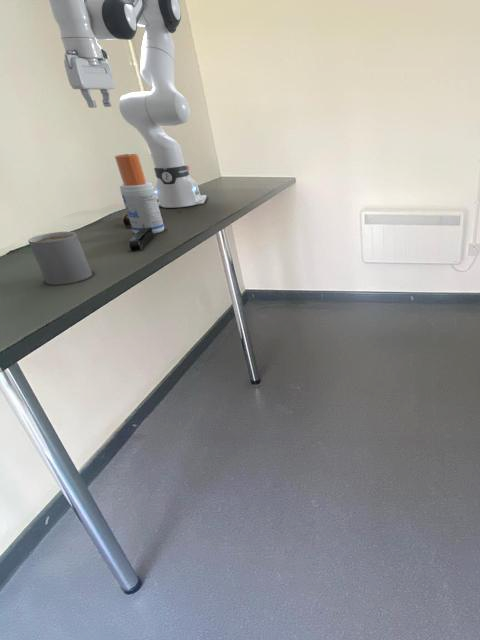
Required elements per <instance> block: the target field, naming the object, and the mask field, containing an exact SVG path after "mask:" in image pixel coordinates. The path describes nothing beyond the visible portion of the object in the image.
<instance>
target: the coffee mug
mask: <svg viewBox="0 0 480 640" xmlns="http://www.w3.org/2000/svg"><path fill="white" fill-rule="evenodd" d="M28 245H29V246H30V248H31V251H32V253H33V256H34V257H35V260H36V263H37V264H38V267H39V269H40V272H41V273H42V276H43V278H44V280H45V283H46V284H48V285H53V286H57V285H58V286H59V285H68V284H73V283H78V282H81V281H84V280H87V279H88V278H90V277H92V275H93V273H92V270H91V268H90V264H89V263H88V259H87V257H86V255H85V252H84V249H83V246H82V244H81V242H80V240H79V237H78V234H77V233H76V232H74V231H56V232H49V233H45V234H44V233H43V234H39V235H36V236H33V237H32V236H31V238H28Z"/></svg>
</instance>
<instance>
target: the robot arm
mask: <svg viewBox="0 0 480 640" xmlns="http://www.w3.org/2000/svg"><path fill="white" fill-rule="evenodd" d="M48 1H49V5H50V8H51V11H52V15H53V18H54V20H55V22H56V24H57V25H58V28H59V31H60V39H61V41H62V45H63V48H64V59H63V63H64V68H65V73H66V76H67V79H68V83H69V85H70V87H71V88H72V89H73V90H80V93H81V95H82V97H83V98H84V100H85V101H86V104H87V107H88V108H90V109H94V108H97V107H98V106H97V103H96V100H94V99H93V96H92V91H91V90H99V92H100V94H101V95H102V100H101V102H102V105H103V107H104V108H111V107H112V103H111V91H110V90H115V87H116V86H115V79H114V76H113V72H112V68H111V65H110V63H109V60H110V58H109V54H108V52H107V51H106V50H105V49H104V48H102V46H101V45H100V44H99V43H98V41H107V40H108V41H109V40H110V41H111V40H123V41H124V40H125V41H126V40H127V41H130V40H133V39H134V38H135V36H136V34H137V30H138V27H144V29H145V32H144V35H143V39H142V44H141V52H140V53H141V54H140V70H139V71H140V75H141V77H142V79H143V81H145V83H146V84H147V85H148V86H150V87H152V89H151V90H150V91H134V92H129V93H127V94H124V95H122V96H121V97H120V99H119V101H118V109H119V112H120V115H121V116H122V119H124V120H125V122H126V123H128V124H129V125H130V126H132V127H133V128H135V130H136V131H137V132H138V133H139V134H140V135H141V137H142V138H143V140H144V141H145V143H146V145H147V147H148V150H149V153H150V155H151V159H152V162H153V166H154V168H153V170H154V174H155V177H156V179H157V181H156V182H155V183H154V185H155V190H154V191H155V194H157V195H156V196H157V202H158V206H159V207H162V208H167V209H168V208H169V209H171V208H172V209H173V208H174V209H175V208H185V207H191V206H196V205H202V204H204V203H205V202H206V201H207V198H208V197H207V195H206V194H201V192H200V189H199V185H198V183H197V182H196V181H195V180H194V179H193V178H192V177H191V175H190V172H189V171H190V166H189V165H188V164H185V160H184V156H183V151H182V147H181V145H180V143H179V142H178V141H177V140H176V139H174V138H172V137H171V136H169V135H168V134H167V133H166V131H165V130H164V127H170V126H171V127H172V126H174V127H175V126H180V125H183V124H186V123H187V122H188V121H189V119H190V117H191V107H190V104H189V102H188V100H187V98H186V97H185V96H184V95H183V94H182V93H180V92H179V91H178V89H177V87H176V85H175V64H176V63H175V62H176V60H175V59H176V58H175V56H176V55H175V54H176V53H175V44H174V39H173V35H172V34H173V33H176V30H177V28H178V26H179V25H180V22H181V20H182V9H181V5H180V1H179V0H48Z"/></svg>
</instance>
